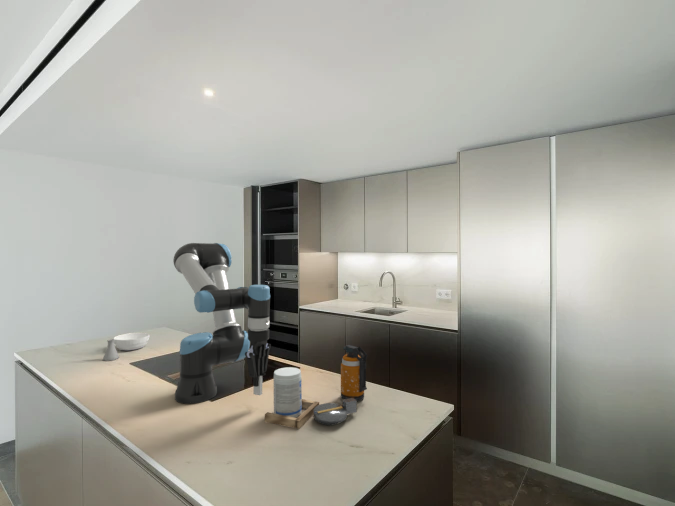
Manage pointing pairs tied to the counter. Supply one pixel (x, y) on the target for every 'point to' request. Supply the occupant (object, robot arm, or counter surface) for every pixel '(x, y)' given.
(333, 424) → the turntable base
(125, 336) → the bowl
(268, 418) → the brown piece
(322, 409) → the turntable
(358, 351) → the canister
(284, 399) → the supplement tub
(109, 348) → the flask
